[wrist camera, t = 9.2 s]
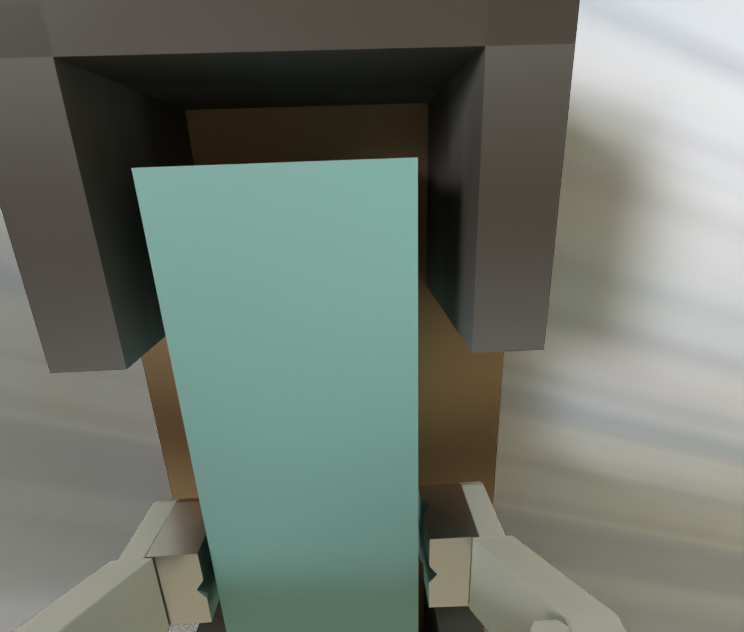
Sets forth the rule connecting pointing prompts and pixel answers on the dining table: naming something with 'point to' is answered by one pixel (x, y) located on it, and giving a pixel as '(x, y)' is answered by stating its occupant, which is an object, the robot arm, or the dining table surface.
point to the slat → (297, 381)
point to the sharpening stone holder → (293, 144)
